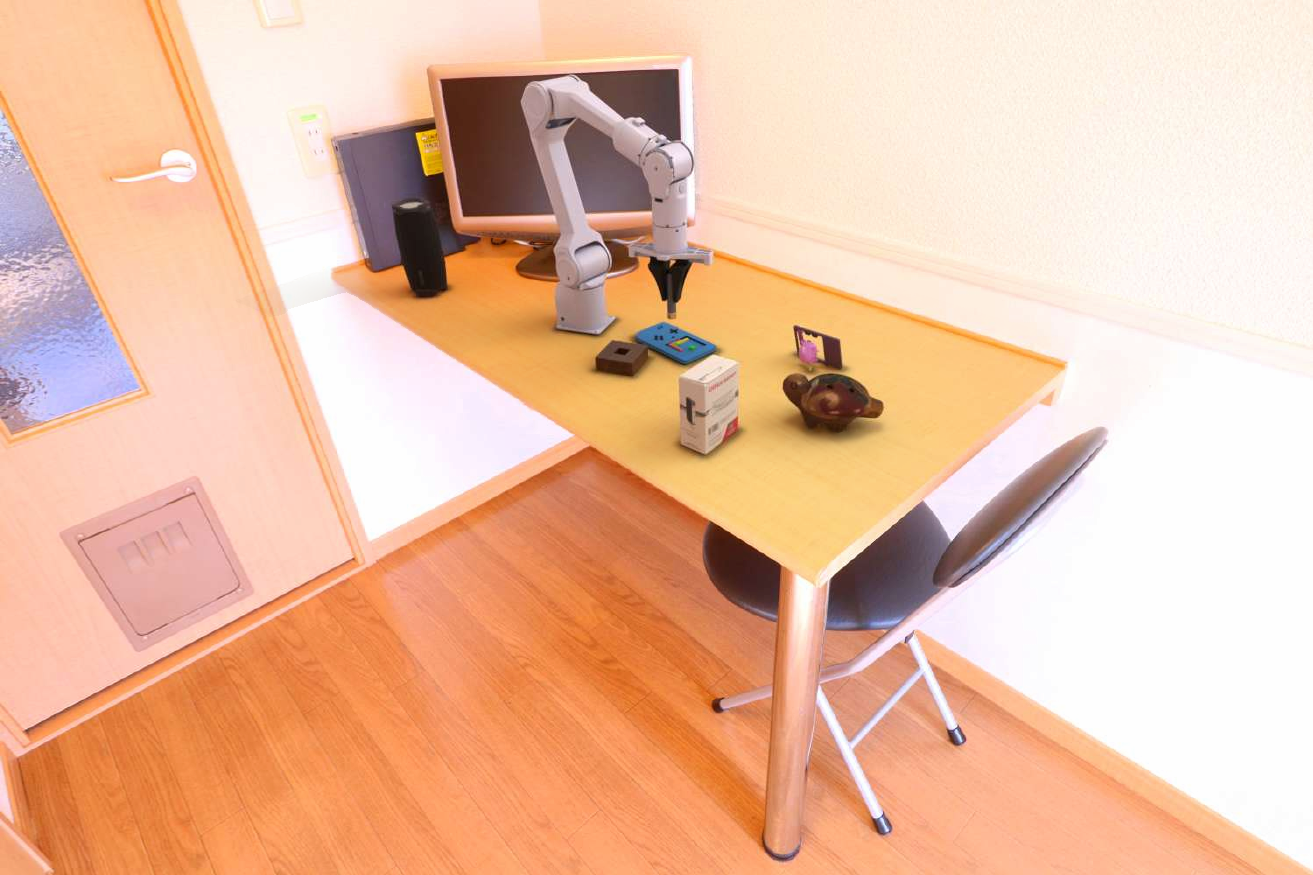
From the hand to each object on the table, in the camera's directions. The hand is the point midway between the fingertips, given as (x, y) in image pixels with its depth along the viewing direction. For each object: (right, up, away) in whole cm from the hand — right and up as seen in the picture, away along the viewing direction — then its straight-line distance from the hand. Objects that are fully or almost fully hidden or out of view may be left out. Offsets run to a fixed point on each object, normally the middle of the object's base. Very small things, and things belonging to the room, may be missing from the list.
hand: (671, 299), depth 125 cm
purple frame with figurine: (+25, -12, 0) cm, 27 cm away
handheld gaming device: (+1, -7, +8) cm, 11 cm away
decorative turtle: (+24, -22, -15) cm, 36 cm away
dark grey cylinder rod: (0, -3, +2) cm, 3 cm away
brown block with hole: (-9, -11, +3) cm, 14 cm away
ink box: (+5, -24, -17) cm, 30 cm away
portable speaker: (-53, +8, +34) cm, 64 cm away
